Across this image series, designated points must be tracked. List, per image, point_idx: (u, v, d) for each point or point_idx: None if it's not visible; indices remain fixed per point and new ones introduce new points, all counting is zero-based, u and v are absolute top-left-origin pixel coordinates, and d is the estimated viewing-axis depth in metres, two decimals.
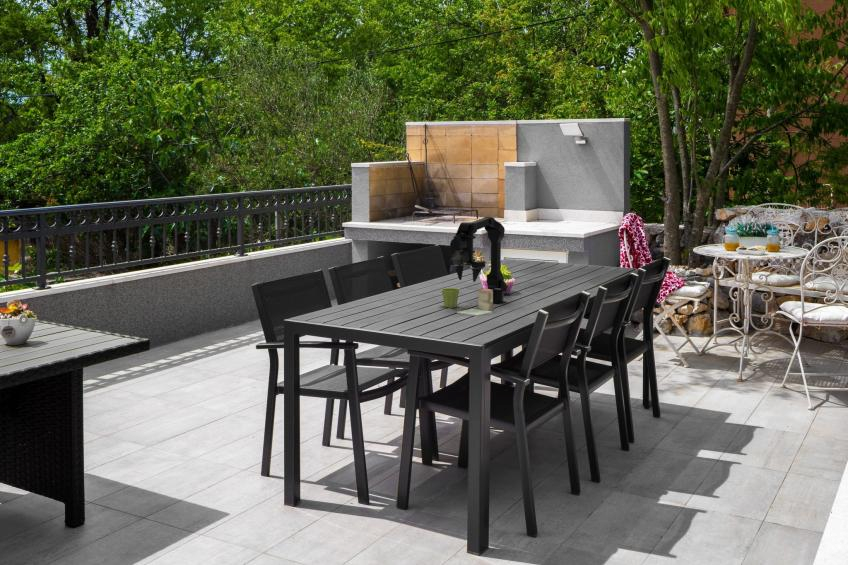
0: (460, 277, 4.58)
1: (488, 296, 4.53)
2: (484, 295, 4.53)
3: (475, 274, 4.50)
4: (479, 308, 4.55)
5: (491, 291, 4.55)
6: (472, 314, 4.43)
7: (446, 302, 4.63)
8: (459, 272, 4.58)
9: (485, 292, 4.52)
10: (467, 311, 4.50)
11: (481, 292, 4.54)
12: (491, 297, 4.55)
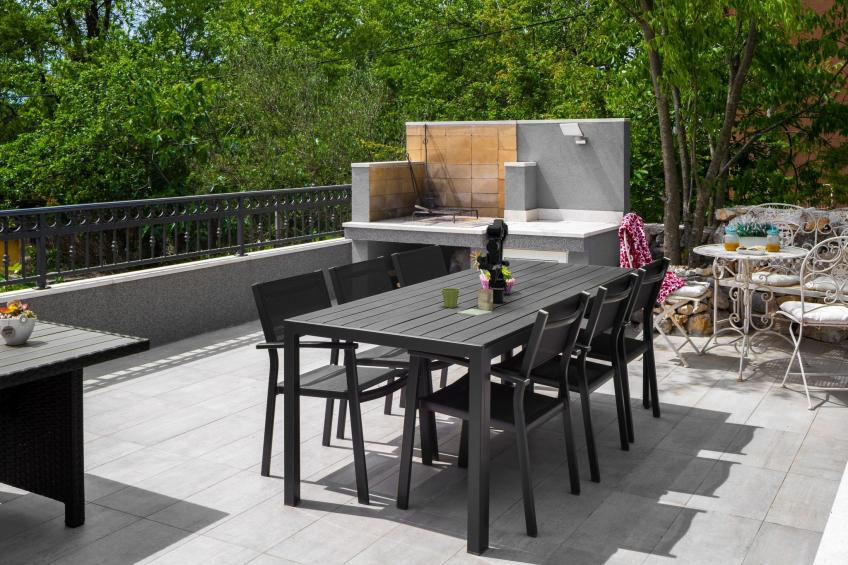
0: None
1: (488, 296, 4.53)
2: (484, 295, 4.53)
3: (491, 275, 4.59)
4: (479, 308, 4.55)
5: (491, 291, 4.55)
6: (472, 314, 4.43)
7: (446, 302, 4.63)
8: None
9: (485, 292, 4.52)
10: (467, 311, 4.50)
11: (481, 292, 4.54)
12: (491, 297, 4.55)
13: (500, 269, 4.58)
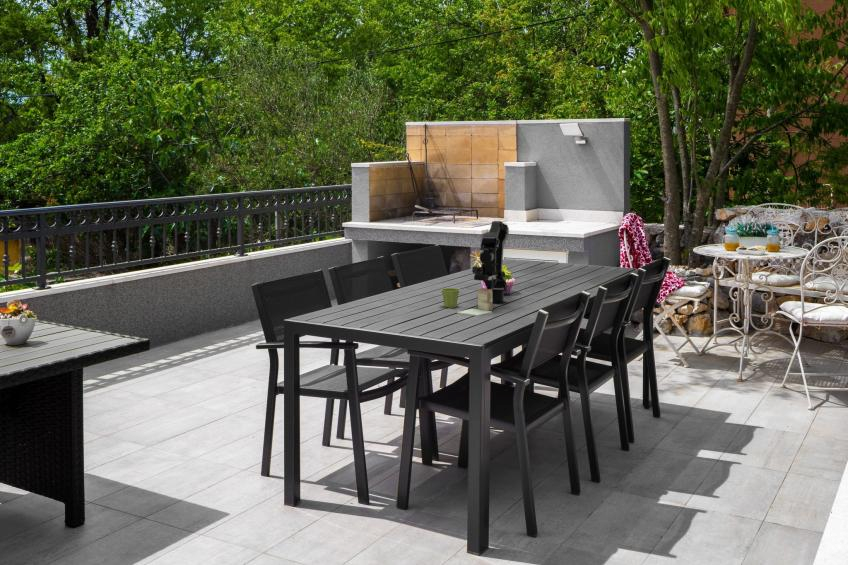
0: None
1: (487, 296, 4.52)
2: (483, 295, 4.52)
3: (487, 285, 4.56)
4: (479, 308, 4.55)
5: (490, 291, 4.54)
6: (472, 314, 4.43)
7: (446, 302, 4.63)
8: None
9: (484, 292, 4.52)
10: (467, 311, 4.50)
11: (480, 292, 4.53)
12: (491, 297, 4.55)
13: (496, 280, 4.56)
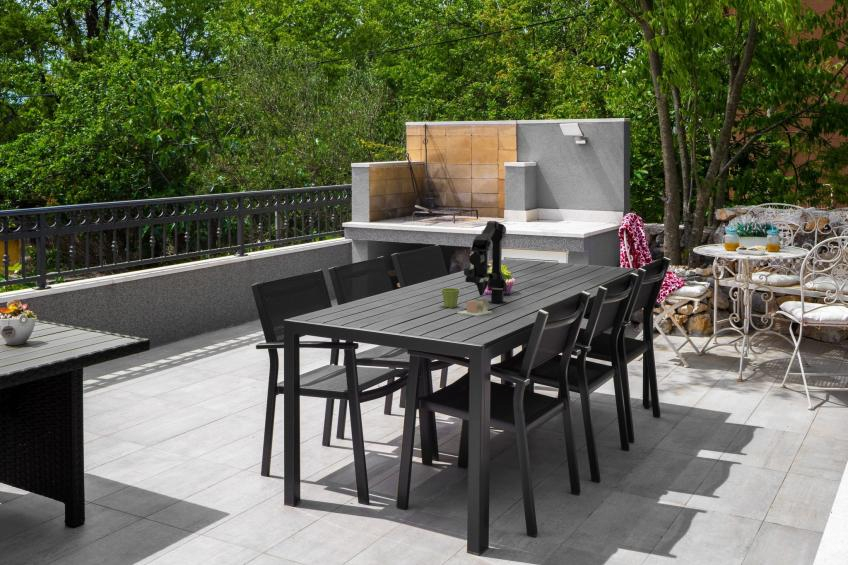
0: None
1: (478, 310, 4.48)
2: None
3: (478, 288, 4.51)
4: None
5: (476, 304, 4.46)
6: (472, 314, 4.43)
7: (446, 302, 4.63)
8: None
9: None
10: None
11: (471, 312, 4.49)
12: (479, 303, 4.48)
13: (487, 282, 4.51)
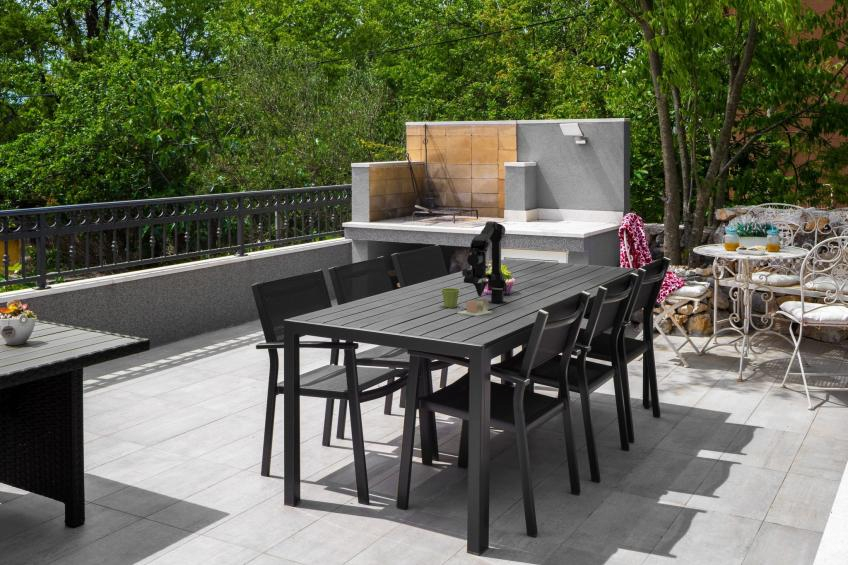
0: None
1: (478, 310, 4.48)
2: None
3: (477, 288, 4.50)
4: None
5: (476, 304, 4.46)
6: (472, 314, 4.43)
7: (446, 302, 4.63)
8: None
9: None
10: None
11: (471, 312, 4.49)
12: (479, 303, 4.48)
13: (486, 282, 4.50)
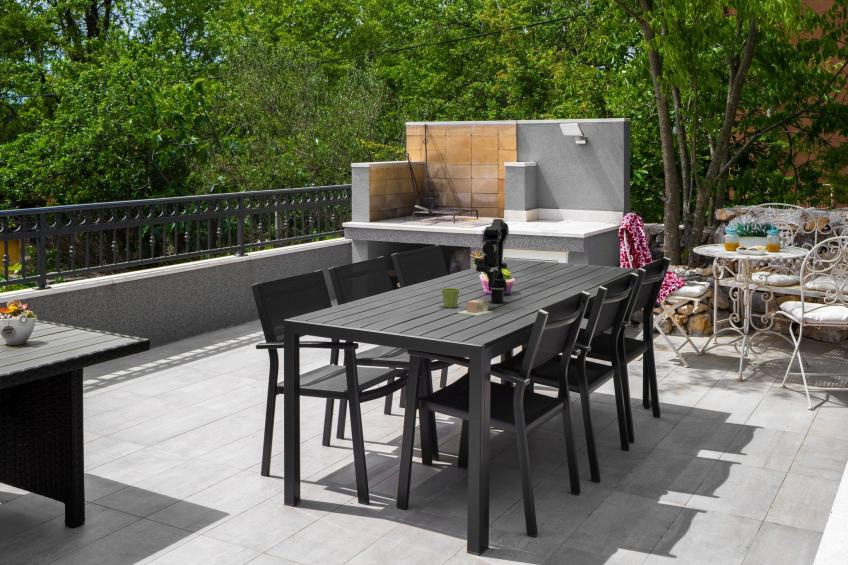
0: None
1: (478, 310, 4.48)
2: None
3: (489, 277, 4.57)
4: None
5: (476, 304, 4.46)
6: (472, 314, 4.43)
7: (446, 302, 4.63)
8: None
9: None
10: None
11: (471, 312, 4.49)
12: (479, 303, 4.48)
13: (498, 271, 4.57)
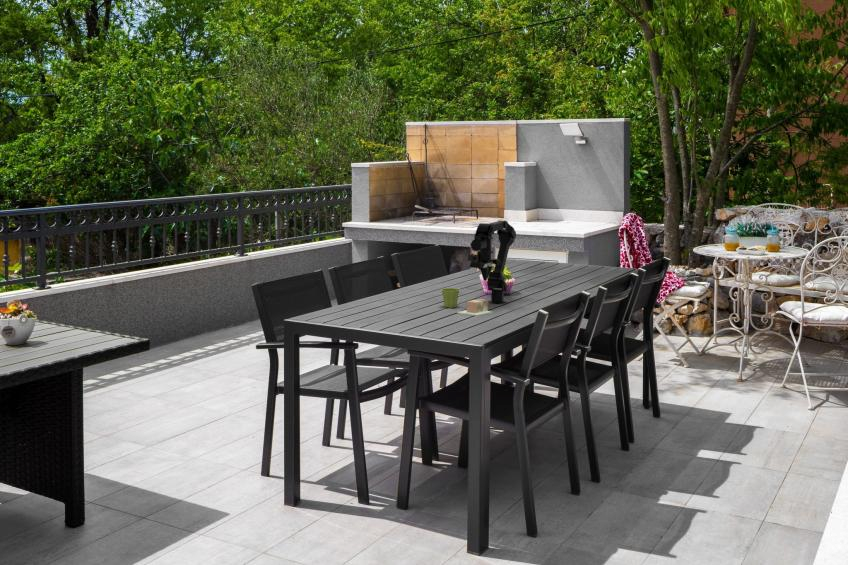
0: None
1: (478, 310, 4.48)
2: None
3: (482, 273, 4.63)
4: None
5: (476, 304, 4.46)
6: (472, 314, 4.43)
7: (446, 302, 4.63)
8: None
9: None
10: None
11: (471, 312, 4.49)
12: (479, 303, 4.48)
13: (491, 267, 4.63)
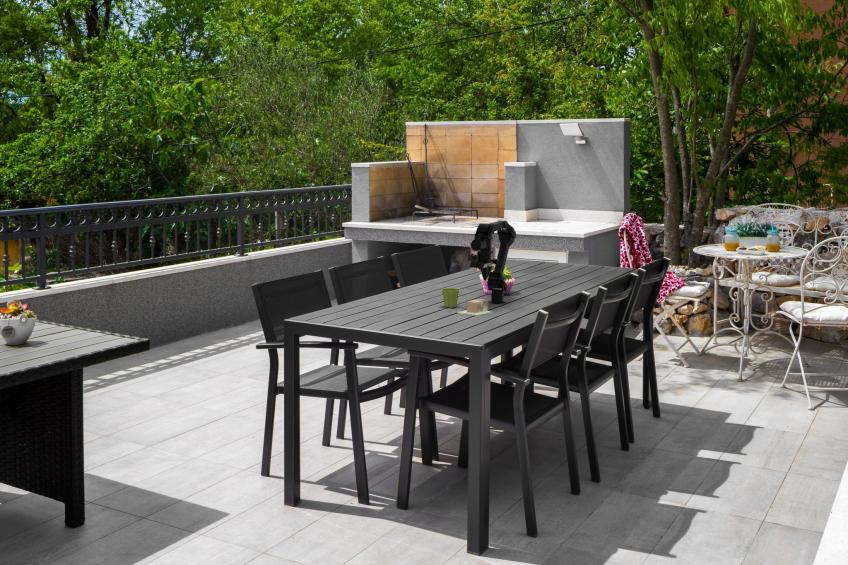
0: None
1: (478, 310, 4.48)
2: None
3: (482, 273, 4.63)
4: None
5: (476, 304, 4.46)
6: (472, 314, 4.43)
7: (446, 302, 4.63)
8: None
9: None
10: None
11: (471, 312, 4.49)
12: (479, 303, 4.48)
13: (491, 267, 4.63)
